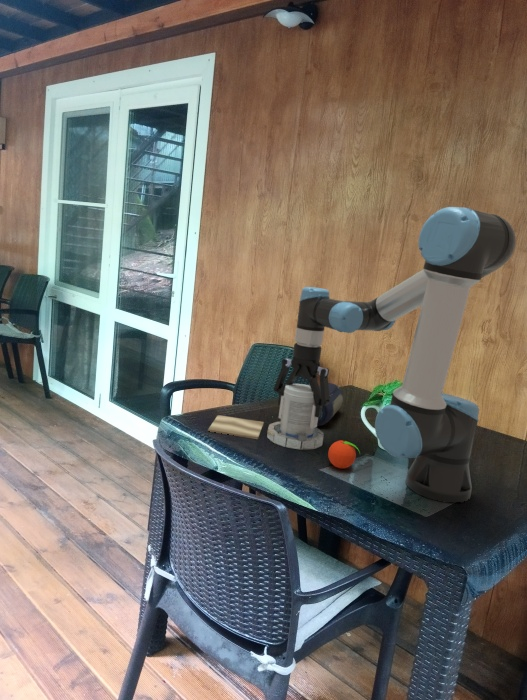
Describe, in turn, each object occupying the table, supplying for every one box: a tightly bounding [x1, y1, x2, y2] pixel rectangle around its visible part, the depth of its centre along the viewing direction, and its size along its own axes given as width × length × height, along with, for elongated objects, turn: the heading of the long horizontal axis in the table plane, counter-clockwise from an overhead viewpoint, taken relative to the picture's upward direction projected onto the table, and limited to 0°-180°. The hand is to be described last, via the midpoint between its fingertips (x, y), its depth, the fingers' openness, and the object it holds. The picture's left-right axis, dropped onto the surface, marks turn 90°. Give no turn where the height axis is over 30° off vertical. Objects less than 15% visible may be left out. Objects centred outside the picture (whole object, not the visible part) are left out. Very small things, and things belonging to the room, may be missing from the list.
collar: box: [266, 421, 325, 451], centre depth 160 cm, size 16×16×4 cm
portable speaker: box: [317, 382, 345, 427], centre depth 183 cm, size 25×10×10 cm, turn 161°
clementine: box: [327, 439, 361, 469], centre depth 143 cm, size 8×7×7 cm
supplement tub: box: [278, 383, 315, 439], centre depth 159 cm, size 10×10×15 cm
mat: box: [207, 414, 265, 440], centre depth 164 cm, size 14×14×1 cm
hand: (297, 422), depth 160 cm, fingers closed on supplement tub, 9 cm apart
